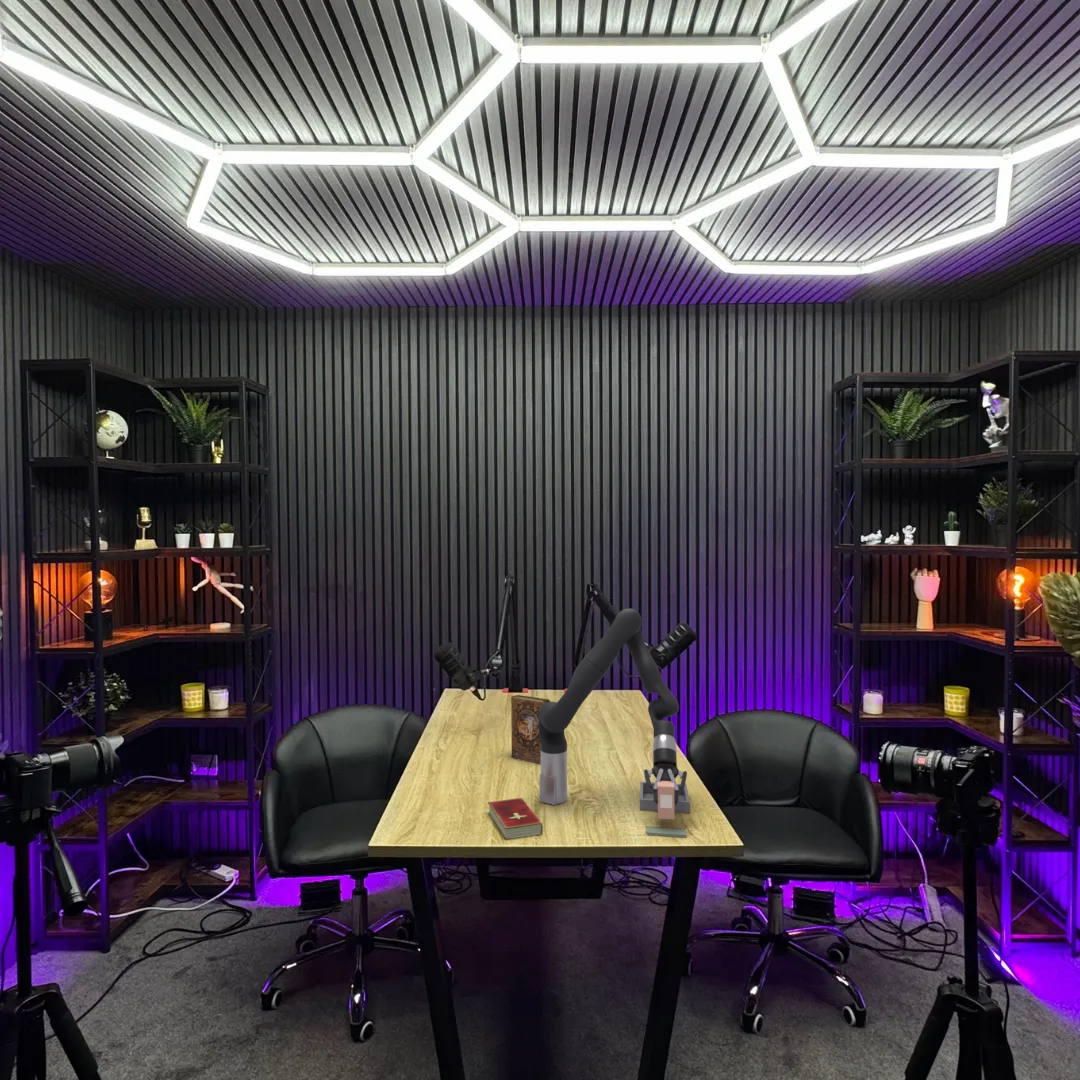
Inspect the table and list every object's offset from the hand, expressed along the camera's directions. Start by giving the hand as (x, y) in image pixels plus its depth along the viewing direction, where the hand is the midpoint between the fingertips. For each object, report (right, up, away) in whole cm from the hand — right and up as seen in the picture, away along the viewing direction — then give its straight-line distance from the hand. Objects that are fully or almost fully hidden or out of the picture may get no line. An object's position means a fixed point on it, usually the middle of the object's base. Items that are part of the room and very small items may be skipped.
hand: (666, 803), depth 207 cm
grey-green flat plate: (0, -8, +2) cm, 9 cm away
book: (-43, -8, +66) cm, 79 cm away
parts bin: (+3, -8, +20) cm, 21 cm away
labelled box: (0, -5, +2) cm, 5 cm away
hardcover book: (-47, -9, +6) cm, 49 cm away
